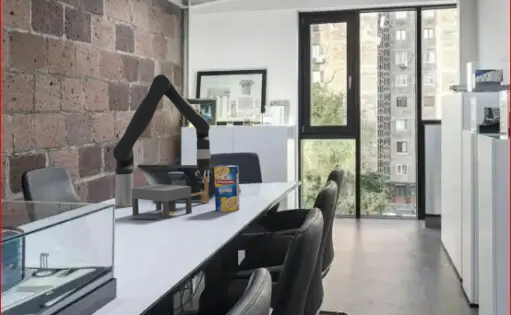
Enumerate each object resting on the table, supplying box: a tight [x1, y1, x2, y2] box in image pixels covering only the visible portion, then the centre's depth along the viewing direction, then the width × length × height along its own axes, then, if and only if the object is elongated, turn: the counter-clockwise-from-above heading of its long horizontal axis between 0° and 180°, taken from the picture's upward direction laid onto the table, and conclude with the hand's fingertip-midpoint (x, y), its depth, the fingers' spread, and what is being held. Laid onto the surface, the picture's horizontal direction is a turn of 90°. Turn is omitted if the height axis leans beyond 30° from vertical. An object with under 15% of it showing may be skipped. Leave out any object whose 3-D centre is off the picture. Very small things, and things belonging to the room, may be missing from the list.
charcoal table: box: [131, 183, 193, 220], centre depth 279 cm, size 22×18×13 cm
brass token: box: [160, 210, 175, 216], centre depth 279 cm, size 4×4×2 cm
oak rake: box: [169, 176, 210, 211], centre depth 301 cm, size 28×5×14 cm, turn 145°
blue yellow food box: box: [213, 164, 241, 212], centre depth 287 cm, size 7×11×22 cm, turn 81°
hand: (204, 189), depth 311 cm, fingers closed on oak rake, 3 cm apart
